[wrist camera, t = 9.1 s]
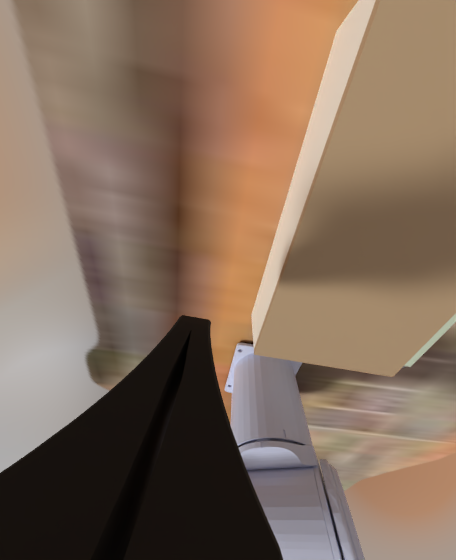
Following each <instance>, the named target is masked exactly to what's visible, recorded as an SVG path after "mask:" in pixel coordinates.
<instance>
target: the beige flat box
mask: <svg viewBox="0 0 456 560" xmlns="http://www.w3.org/2000/svg"><path fill="white" fill-rule="evenodd" d="M455 313H456V0H358V2H357V3H356V5H355V6H354V7H353V9H352V10H351V12H350V13H349V14H348V16H347V17H346V18H345V20H344V21H343V23H342V24H341V25H340V27H339V28H338V30H337V31H336V35H335V38H334V41H333V45H332V48H331V51H330V55H329V58H328V61H327V65H326V68H325V71H324V75H323V78H322V81H321V85H320V88H319V91H318V95H317V98H316V101H315V105H314V108H313V111H312V115H311V118H310V121H309V125H308V128H307V131H306V135H305V138H304V141H303V145H302V148H301V151H300V155H299V158H298V161H297V165H296V168H295V171H294V175H293V178H292V181H291V185H290V188H289V191H288V195H287V198H286V201H285V205H284V208H283V211H282V215H281V218H280V221H279V225H278V228H277V231H276V235H275V238H274V241H273V245H272V248H271V251H270V255H269V258H268V261H267V265H266V268H265V272H264V275H263V278H262V282H261V285H260V288H259V292H258V295H257V298H256V302H255V305H254V308H253V312H252V330H253V345H254V355H259V356H266V357H272V358H278V359H284V360H290V361H296V362H302V363H309V364H315V365H321V366H327V367H333V368H339V369H346V370H352V371H358V372H364V373H370V374H376V375H382V376H389V377H393V376H394V375H395V374H396V373H397V372H398V371H399V370H400V369H401V368H402V367H403V366H404V365H405V364H406V363H407V362H408V361H409V360H410V359H411V358H412V357H413V356H414V355H415V354H416V353H417V352H418V351H419V350H420V349H421V348H422V347H423V346H424V345H425V344H426V343H427V342H428V341H429V340H430V339H431V338H432V337H433V336H434V335H435V334H436V333H437V332H438V331H439V330H440V329H441V328H442V327H443V326H444V325H445V324H446V323H447V322H448V321H449V320H450V319H451V318H452V317H453V316H454V314H455Z"/></svg>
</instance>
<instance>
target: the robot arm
mask: <svg viewBox="0 0 456 560" xmlns="http://www.w3.org/2000/svg"><path fill="white" fill-rule="evenodd" d="M210 324H211V322H210V321H209V320H207V319H201V318H196V317H190V316H184V315H182V316H181V317H180V318H179V319H178V321H177V322H176V323H175V325H174V326H173V327H172V328H171V330H170V331H169V332H168V333H167V335H166V336H165V337H164V338H163V339H162V340H161V341H160V343H159V344H158V345H157V346H156V347H155V348H154V349H153V350H152V351H151V352H150V354H149V355H148V356H147V357H146V358H145V359H144V360H143V361H142V362H141V363H140V364H139V365H138V366H137V367H136V368H135V369H134V370H132V371H131V372H130V373H129V374H128V375H127V376H126V377H125V378H124V379H123V380H122V381H121V382H119V383H118V384H117V385H116V386H115V387H114V388H113V389H111V390H110V391H109V392H108V393H107V394H106V395H104V396H103V397H102V398H101V399H100V400H98V401H97V402H96V403H95V404H94V405H92V406H91V407H90V408H89V409H87V410H86V411H85V412H84V413H82V414H81V415H80V416H79V417H77V418H76V419H75V420H73V421H72V422H71V423H69V424H68V425H67V426H65V427H64V428H63V429H61V430H60V431H59V432H57V433H56V434H54V435H53V436H52V437H51V438H49V439H48V440H46V441H45V442H44V443H42V444H41V445H40V446H39V447H37V448H35V449H34V450H33V451H31V452H30V453H28V454H27V455H26V456H24V457H23V458H21V459H20V460H19V461H17V462H16V463H14V464H13V465H11V466H10V467H9V468H7V469H5V470H4V471H2V472H1V473H0V560H365V559H364V556H363V552H362V549H361V546H360V543H359V539H358V536H357V532H356V529H355V526H354V523H353V519H352V516H351V513H350V510H349V506H348V503H347V500H346V497H345V494H344V491H343V488H342V485H341V482H340V479H339V476H338V473H337V470H336V469H335V468H334V467H333V466H332V465H330V464H329V463H328V461H327V460H326V459H320V465H321V469H322V473H323V477H322V473H321V469H320V466H319V463H318V460H317V456H316V453H315V450H314V447H313V445H312V441H311V437H310V433H309V429H308V425H307V421H306V417H305V413H304V409H303V405H302V401H301V397H300V393H299V389H298V385H297V381H296V377H295V375H296V373H297V372H298V370H299V368H300V366H301V365H302V362H296V361H290V360H284V359H278V358H272V357H266V356H259V355H254V345H253V344H247V343H238V344H237V346H236V349H235V353H234V357H233V360H232V364H231V367H230V371H229V375H228V378H227V382H226V385H225V391H226V392H230V393H232V405H231V426H230V422H229V419H228V416H227V413H226V410H225V407H224V403H223V400H222V396H221V392H220V389H219V385H218V380H217V376H216V372H215V367H214V361H213V355H212V348H211V338H210ZM239 349H241V350H239ZM323 480H324V481H323ZM324 484H325V485H324ZM325 488H326V489H325ZM326 492H327V493H326ZM343 557H344V558H343Z"/></svg>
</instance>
